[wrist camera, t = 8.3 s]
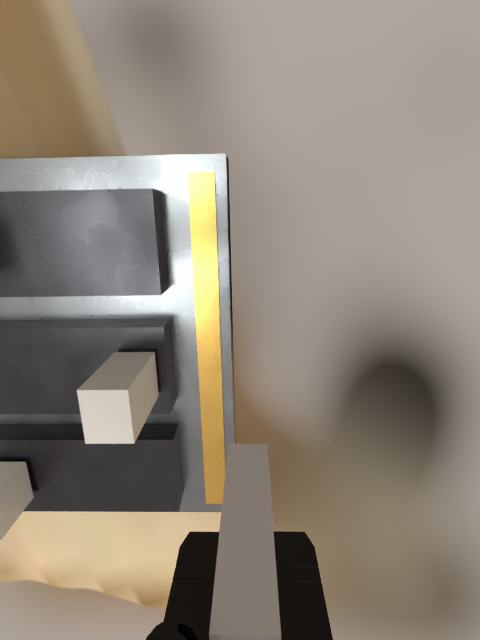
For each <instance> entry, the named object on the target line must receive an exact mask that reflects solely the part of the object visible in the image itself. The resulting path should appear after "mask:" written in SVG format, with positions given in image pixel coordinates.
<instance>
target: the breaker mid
mask: <svg viewBox="0 0 480 640" xmlns="http://www.w3.org/2000/svg"><path fill="white" fill-rule="evenodd" d="M77 395H78V401H79V408H80V414H81V420H82V426H83V432H84V438H85V444H134V443H135V441H136V439H137V437H138V435H139V433H140V431H141V429H142V427H143V426H144V424H145V422H146V420H147V418H148V416H149V414H150V412H151V410H152V408H153V406H154V404H155V402H156V400H157V398H158V396H159V394H158V383H157V372H156V361H155V352H114V353H113V354H112V355H111V356H110V357H109V358H108V359H107V360H106V361H105V362H104V363H103V364H102V365H101V366H100V367H99V368H98V369H97V370H96V371H95V372H94V373H93V374H92V375H91V376H90V377H89V378H88V379H87V380H86V381H85V382H84V383H83V384H82V385H81V386H80V387H79V388H78V389H77Z"/></svg>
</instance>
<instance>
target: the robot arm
mask: <svg viewBox="0 0 480 640" xmlns="http://www.w3.org/2000/svg"><path fill="white" fill-rule="evenodd" d="M146 640H333V639H332V634H331V628H330V623H329V618H328V613H327V608H326V603H325V598H324V593H323V588H322V584H321V578H320V573H319V568H318V563H317V557H316V553H315V547H314V546H313V544H312V542H311V541H310V539H309V538H308V536H307V535H306V533H305V532H274V531H273V518H272V505H271V492H270V477H269V464H268V450H267V444H228V452H227V462H226V472H225V482H224V492H223V502H222V512H221V521H220V531H219V532H189V534H188V535H187V537H186V538H185V540H184V541H183V543H182V544H181V546H180V549H179V554H178V558H177V563H176V568H175V572H174V576H173V583H172V586H171V590H170V595H169V599H168V604H167V608H166V613H165V618H164V622H162V623H160V624H159V625H157V626H156V627H155V628H154V629H153V631H152V632H151V633H150V634H149V635H148V636H147V638H146Z"/></svg>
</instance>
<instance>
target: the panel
mask: <svg viewBox="0 0 480 640" xmlns="http://www.w3.org/2000/svg"><path fill="white" fill-rule="evenodd" d="M229 208H230V206H229V167H228V158H227V155H226V153H220V154H180V155H139V156H97V157H56V158H15V159H0V462H26V465H27V470H28V474H29V479H30V483H31V488H32V492H33V497H34V498H33V499H32V500H31V502H30V503H29V504H28V505H27V507H26V508H25V509H24V511H105V512H222V502H223V492H224V482H225V472H226V462H227V452H228V444H236V440H235V404H234V402H235V401H234V362H233V323H232V287H231V286H232V284H231V247H230V246H231V245H230V209H229ZM114 352H155V361H156V372H157V383H158V394H159V396H158V398H157V400H156V402H155V404H154V406H153V408H152V410H151V412H150V414H149V416H148V418H147V420H146V422H145V424H144V426H143V427H142V429H141V431H140V433H139V435H138V437H137V439H136V441H135V443H134V444H85V438H84V432H83V426H82V420H81V414H80V408H79V401H78V395H77V389H78V388H79V387H80V386H81V385H82V384H83V383H84V382H85V381H86V380H87V379H88V378H89V377H90V376H91V375H92V374H93V373H94V372H95V371H96V370H97V369H98V368H99V367H100V366H101V365H102V364H103V363H104V362H105V361H106V360H107V359H108V358H109V357H110V356H111V355H112V354H113V353H114Z"/></svg>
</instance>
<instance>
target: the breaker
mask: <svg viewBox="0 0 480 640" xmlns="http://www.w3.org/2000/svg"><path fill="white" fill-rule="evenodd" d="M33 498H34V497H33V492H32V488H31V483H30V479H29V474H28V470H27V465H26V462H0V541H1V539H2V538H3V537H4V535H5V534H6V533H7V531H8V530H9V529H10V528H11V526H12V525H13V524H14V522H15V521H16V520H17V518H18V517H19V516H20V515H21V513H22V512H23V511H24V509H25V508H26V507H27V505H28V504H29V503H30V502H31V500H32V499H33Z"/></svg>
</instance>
